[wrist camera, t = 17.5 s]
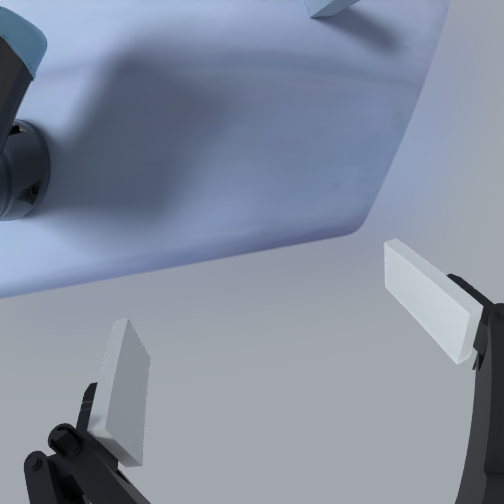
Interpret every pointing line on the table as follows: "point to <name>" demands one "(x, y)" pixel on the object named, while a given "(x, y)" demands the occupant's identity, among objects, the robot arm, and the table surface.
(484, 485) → the robot arm
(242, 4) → the table surface
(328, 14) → the block
